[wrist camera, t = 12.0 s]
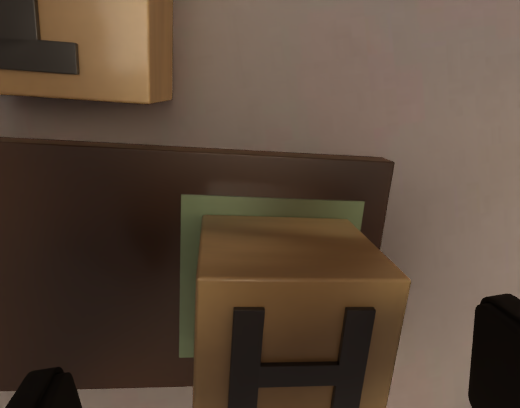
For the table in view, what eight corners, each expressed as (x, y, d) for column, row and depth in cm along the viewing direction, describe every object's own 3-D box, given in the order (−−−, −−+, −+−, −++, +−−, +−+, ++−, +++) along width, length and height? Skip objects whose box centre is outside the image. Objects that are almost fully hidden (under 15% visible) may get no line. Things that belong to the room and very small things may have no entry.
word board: (-247, 377, 13) (-286, 401, 12) (-340, 118, 11) (-398, 121, 10) (349, 365, 16) (358, 384, 15) (382, 157, 14) (396, 162, 13)
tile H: (198, 343, 14) (190, 462, 9) (202, 213, 12) (195, 281, 8) (330, 342, 14) (381, 453, 10) (348, 218, 13) (416, 283, 9)
